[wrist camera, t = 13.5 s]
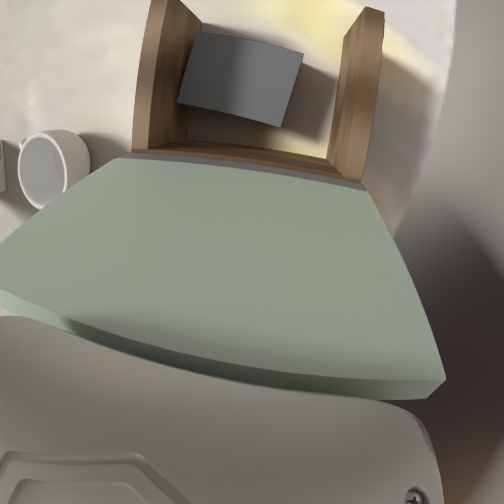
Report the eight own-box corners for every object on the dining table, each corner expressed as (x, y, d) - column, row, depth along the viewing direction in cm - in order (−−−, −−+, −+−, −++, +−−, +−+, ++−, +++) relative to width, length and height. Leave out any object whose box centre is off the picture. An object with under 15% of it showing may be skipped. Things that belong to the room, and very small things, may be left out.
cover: (363, 182, 15) (359, 198, 16) (127, 151, 16) (127, 165, 17) (446, 378, 5) (425, 398, 6) (-30, 273, 6) (-18, 295, 6)
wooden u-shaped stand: (340, 176, 23) (361, 199, 16) (169, 152, 24) (127, 166, 17) (361, 41, 18) (388, 13, 11) (185, 22, 18) (149, -7, 12)
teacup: (112, 148, 24) (78, 157, 19) (85, 209, 27) (54, 227, 22) (54, 106, 22) (20, 110, 17) (34, 164, 25) (2, 175, 21)
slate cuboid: (281, 126, 22) (280, 127, 19) (191, 104, 22) (176, 102, 19) (301, 63, 19) (303, 53, 16) (209, 42, 19) (197, 32, 16)
